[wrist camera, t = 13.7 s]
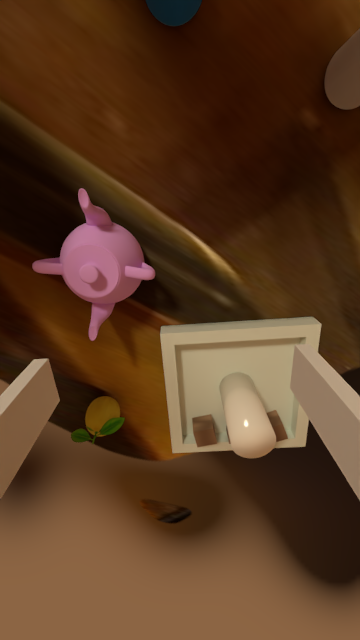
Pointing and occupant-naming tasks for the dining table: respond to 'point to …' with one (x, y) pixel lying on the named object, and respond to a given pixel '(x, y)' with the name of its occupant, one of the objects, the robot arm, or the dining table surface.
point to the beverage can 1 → (173, 10)
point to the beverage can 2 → (344, 75)
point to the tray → (231, 357)
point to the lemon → (100, 419)
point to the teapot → (99, 263)
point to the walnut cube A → (204, 430)
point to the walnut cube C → (277, 426)
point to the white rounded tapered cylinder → (246, 417)
